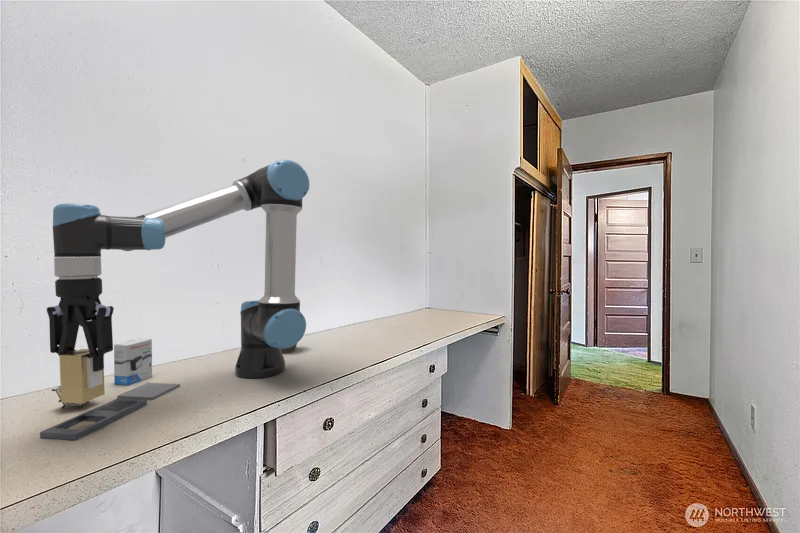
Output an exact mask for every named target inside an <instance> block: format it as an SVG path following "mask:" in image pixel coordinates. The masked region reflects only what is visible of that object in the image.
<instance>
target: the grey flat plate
mask: <svg viewBox="0 0 800 533" xmlns="http://www.w3.org/2000/svg"><path fill="white" fill-rule="evenodd" d="M147 405H148V400H147V399H128V398H117V397H116V398H115V399H113V400H111V401H109V402H106V403H104V404H101V405H99V406H97V407H94V408H92V409H90V410H88V411H86V412H83V413H80V414H78V415H77V416H74V417H72V418H69V419H67V420H65V421H62V422H60V423H58V424H56V425H53V426H51V427H48V428H47V429H44V430H42V431H39V438H40V439H49V440H64V441H77V440H79V439H81V438H84V437H85V436H87V435H90V434H91V433H93V432H95V431H97V430H99V429H101V428H103V427H105V426H107V425H109V424H111V423H113V422H115V421H116V420H119V419H121V418H123V417H125V416H127V415H129V414H131V413H133V412H135V411H137V410H138V409H139V410H140V409H141V408H143V407H145V406H147ZM81 422H94V423H92V424H90V425H87V426H86V427H83V428H81V429H77V428H75V429H73V428H70V427H72V426H75V425H76V424H77V425H78V423H81Z"/></svg>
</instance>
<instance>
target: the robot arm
mask: <svg viewBox="0 0 800 533" xmlns="http://www.w3.org/2000/svg"><path fill="white" fill-rule="evenodd" d="M309 189H310V179H309V175H308V173H307V172H306V170H305V169H304V168H303V166H302V165H301V164H299V163H297V162H296V161H294V160H291V159H281V160H275V161H273V162H271V163H270V164H267V165H266V166H263V167H261V168H259V169H257V170H256V171H254V172H251V173H249V175H247V176H245V177H242V178H239V179H237V180H234V181H233V182H232V184H231V185H229V186H226V187H222V188H221V189H216V190H213V191H211V192H208V193H205V194H202V195H199V196H196V197H193V198H189V199H186V200H183V201H181V202H177V203H174V204H170V205H168V206H165V207H162V208H159V209H155V210H153V211H150V212H146V213H144V214H141V215H138V216H113V215H111V216H110V215H106V214H101V212H100V208H99V207H98V206H97V205H93V204H92V205H91V204H84V203H83V204H82V203H59V204H57V205H55V206H54V207H53V209H52V238H53V254H54V255H53V256H54V259H53V262H54V263H53V265H54V270H53V271H54V273H53V274H54V277H56V278H57V277H58V279H56V280H55V281H54V284H55V286H54V287H55V296H56V297H58V298H60V299H59V303H58V305H55V306H48V307H47V308H46V312H47V316H48V319H49V322H48V323H49V351H50V354H51V353H52V354H57V355H58V356H59V355H62V354H66V353H69V352H73V351H77V350H78V349H75V348H76V344H77V340H78V339H77V338H78V332H79V330H80V329H79V328H80V327H82V331H83V333H84V337H85V341H86V345H87V349H89V353H90V355H88V356H87V385H88V388H93V387H95V386H98V385H101V384H102V370H103V369H104V370H105V361H104V360H105V357H104V356H105V354H107V353H110V352H112V351H114V343H113V341H114V340H113V320H112V318H113V313H114V306H112V305H108V306H106V305H104V304H102V302H101V300H100V295H102V294H103V279H102V278H101V277H99V276H101V275H102V250H106V251H107V250H108V251H109V250H110V251H111V250H119V251H124V252H132V251H152V250H153V251H155V250H162V249H163V248H164V247H165V244H166V238H169V237H172V236H174V235H176V234H179V233H182V232H185V231H188V230H190V229H193V228H196V227H200V226H201V225H204V224H206V223H210V222H212V221H215V220H218V219H221V218H223V217H225V216H228V215H231V214H234V213H236V212H239V211H241V210H243V211H244V210H245V211H246V212H249V211H251V210H254V209H258V208H261V209H262V210H263V211H264V212H265V250H264V251H265V253H264V254H265V255H264V258H265V259H264V294H263V295H262V297H261V298H260V299H259V300H249V301H244V302H242V303H241V304H240V312H239V314H240V352H239V355H238V357H237V360H236V363H235V367H234V373H235V376H237V377H238V378H244V379H260V378H268V377H272V376H276V375H279V374H281V373H283V372H284V371H285V370H286V360H285V357H284V355H283V354H284V353H282V351H281V349H286V348H290V347H292V346H294V345H295V344H297V345H298V343H299V341H301V340H302V338H303V337H304V335H305V333H306V331H307V320H306V317H305V315H303V313H302V312H301V300H300V299H299V298H298V297H297V296H296V263H297V261H296V260H297V259H296V258H297V256H296V255H297V222H298V221H297V218H298V217H297V216H298V214H299V213H300V212H302V211H303V198H304V197H306V195H307V194H308V193H309ZM96 349H98V350H96Z"/></svg>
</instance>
